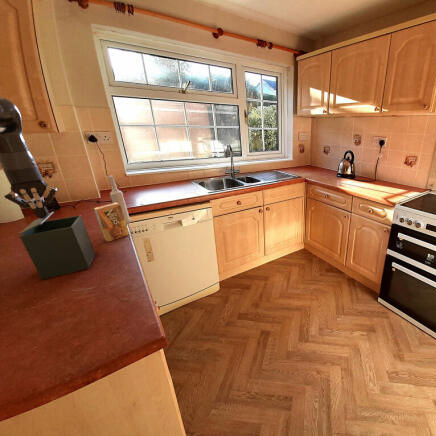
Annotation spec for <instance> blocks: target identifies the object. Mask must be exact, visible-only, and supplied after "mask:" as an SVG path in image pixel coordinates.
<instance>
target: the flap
mask: <svg viewBox="0 0 436 436" xmlns="http://www.w3.org/2000/svg"><path fill="white" fill-rule="evenodd" d="M48 213H49V215H48V216H47V217H46V218H42V219H40V218H39V217H38V218H37V219H35V220H33V221H32V222H31V223H30V224H29V225H27V226H26V227H25V228H23V229H22V231H20V232H19V233H18V235H19V236H21V235H22V234H23V233H25V232H27V231H29V230H31V229H33V228H35V227H37V226H39V225H41V224H42V223H43V222H44V221H47V220H48V219H49V218H50V217H51V216H52V215H53V214H54V213H55V212H54V211H51V212H48Z"/></svg>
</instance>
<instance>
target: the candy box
mask: <svg viewBox="0 0 436 436" xmlns="http://www.w3.org/2000/svg"><path fill="white" fill-rule="evenodd" d="M93 211H94V214H95V216H96V219H97V222H98V224H99V227H100V230H101V233H102V235H103V239H104V240H105V241H106V242H108V243H109V242H111V241H114V240H115V241H116V240H117V239H120V238H123V237H126V236H128V235H130V232H129V229H128V224H126V222H125V219H124V216H123V213H122V210H121V206H120V204H118V203H113V202H112V203H110V204H109V203H108V204H105V205H102V206H97V207H94V208H93Z"/></svg>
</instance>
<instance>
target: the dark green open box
mask: <svg viewBox="0 0 436 436" xmlns="http://www.w3.org/2000/svg"><path fill="white" fill-rule="evenodd" d="M19 238H20V240H21V242H22V244H23V246H24V248H25V250H26V252H27V254H28V256H29V258H30V260H31V262H32V264H33V265H34V268H35V270H36V271H37V273H38V275H39V277H40V279H41V280H46V279H51V278H55V277H59V276H63V275H69V274H72V273H75V272H80V271H84V270H88V269H90V267H91V265H92V263H93V261H94V257H95V256H96V251H95V248H94V245H93V243H92V241H91V238H90V235H89V232H88V231H87V228H86V225H85V223H84V220H83V217H82V216H81V215H74V216H69V217H68V216H67V217H62V218H61V217H60V218H55V219H49V220H45V221H44V222H43V223H42V224H41V225H39V226H37V227H35V228H33V229H31V230H29V231H27V232H25V233H23V234H21V235H19Z"/></svg>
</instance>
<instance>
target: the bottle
mask: <svg viewBox="0 0 436 436" xmlns="http://www.w3.org/2000/svg"><path fill="white" fill-rule="evenodd" d="M107 177H108V181H109V183H110V186H111V191H110V193H109V196H110V199H111V201H112V204H113V203H118V204H120V206H121V210H122V213H123V216H124V219H125V222H126V225H129V224H131V223H132V220H131V218H130V215H129V211H128V208H127V205H126V200H125V198H124V193H123V192H122V191H121V190H119V188H117V187H118V186H117V184H116V181H115V178H114V175H108V176H107Z"/></svg>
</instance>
